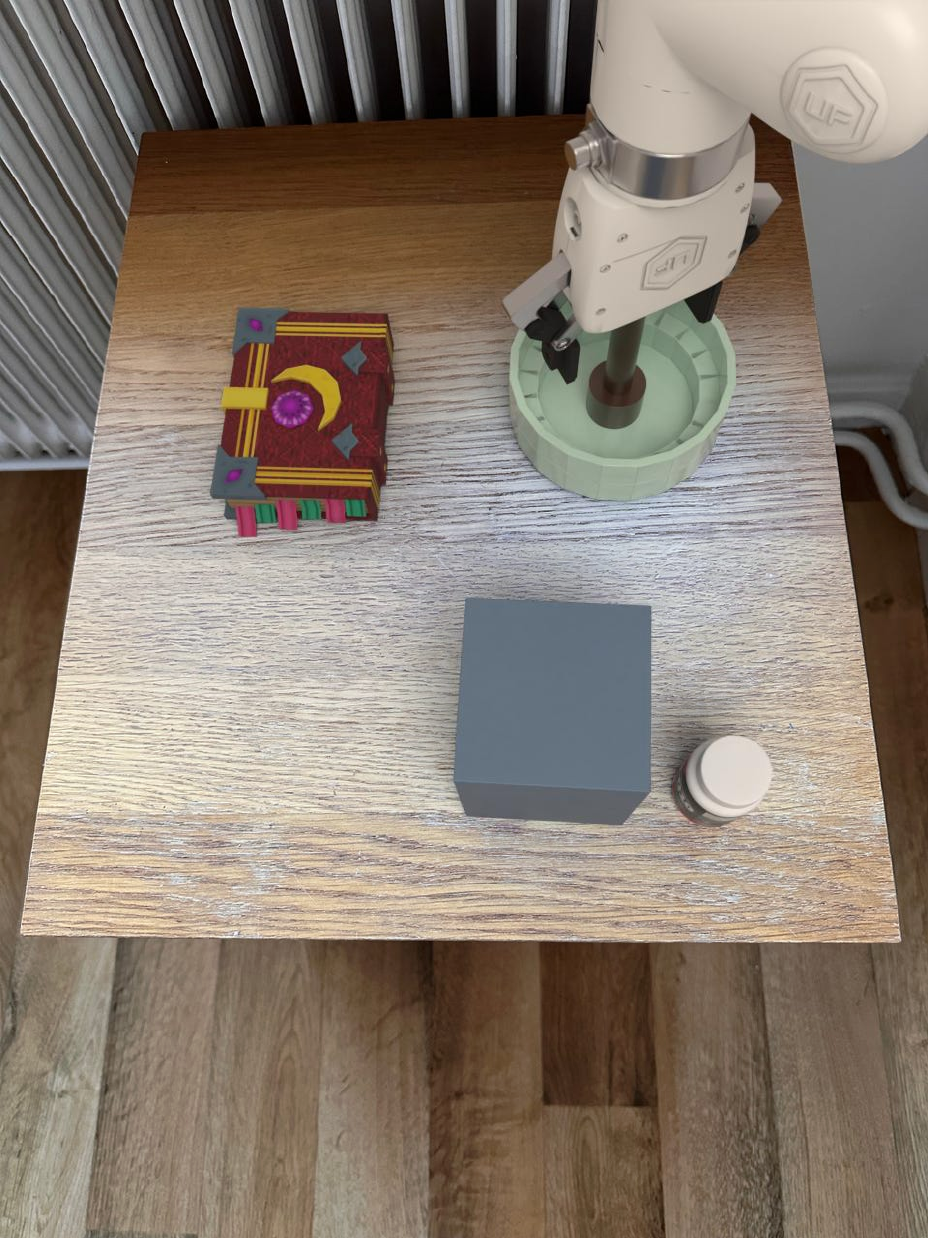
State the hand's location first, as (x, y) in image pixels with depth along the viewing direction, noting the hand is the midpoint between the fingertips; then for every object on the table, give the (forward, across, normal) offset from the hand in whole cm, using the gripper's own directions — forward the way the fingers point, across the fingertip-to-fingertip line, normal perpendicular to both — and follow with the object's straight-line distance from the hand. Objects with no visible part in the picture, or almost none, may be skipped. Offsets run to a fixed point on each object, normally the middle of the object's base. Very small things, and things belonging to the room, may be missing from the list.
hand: (627, 335), depth 63 cm
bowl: (+9, 0, 0) cm, 9 cm away
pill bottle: (+10, -8, -27) cm, 30 cm away
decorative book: (+10, -21, +8) cm, 24 cm away
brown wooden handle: (+9, 0, 0) cm, 9 cm away
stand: (+9, -16, -20) cm, 27 cm away
